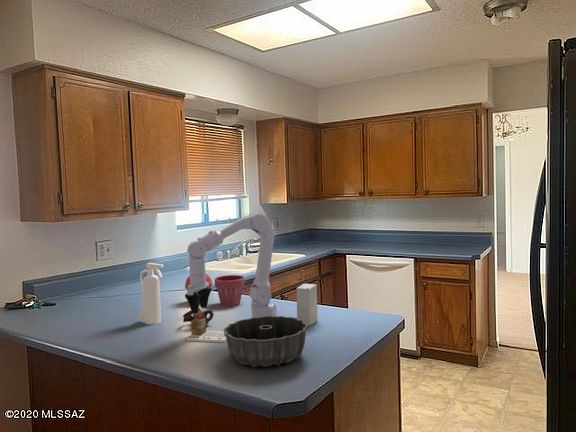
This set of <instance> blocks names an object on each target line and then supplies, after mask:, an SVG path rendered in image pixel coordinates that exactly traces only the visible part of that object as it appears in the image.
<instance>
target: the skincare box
mask: <svg viewBox="0 0 576 432" xmlns="http://www.w3.org/2000/svg"><path fill="white" fill-rule="evenodd" d="M296 318H297V319H299V320H303V321H304V323H306V324H307V325H308V327H310V326H312V325H313V324H315V323H316V322H317V321H318V320H319V319H318V285H317V284H313V283H302V284H301V285H300V286H298V287H296Z"/></svg>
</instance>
